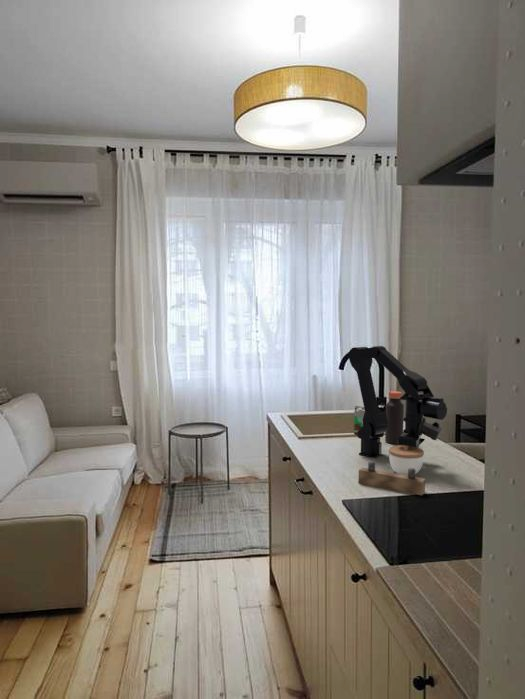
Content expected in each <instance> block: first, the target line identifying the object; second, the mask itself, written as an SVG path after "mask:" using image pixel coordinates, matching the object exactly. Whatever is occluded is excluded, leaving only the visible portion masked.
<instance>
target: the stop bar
mask: <svg viewBox="0 0 525 699" xmlns="http://www.w3.org/2000/svg"><path fill="white" fill-rule="evenodd" d="M367 462H368V466H367V467H363V466H362V467H360V468H359V469H358V481H357V482H358V484H363V485H368V486H373V487H378V488H382V489H387V490H393V491H398V492H403V493H409V494H412V495H418V496H424V494H425V492H426V478H425V477H424V478H423V477H418V476H416V475H415V469H412V468H409V469H408V476H407V475H402V474H396V472H390V471H385V470H379V469H376V462H375V461H367Z"/></svg>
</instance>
